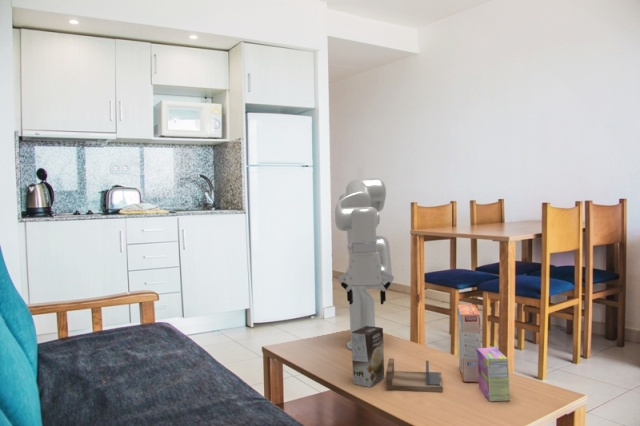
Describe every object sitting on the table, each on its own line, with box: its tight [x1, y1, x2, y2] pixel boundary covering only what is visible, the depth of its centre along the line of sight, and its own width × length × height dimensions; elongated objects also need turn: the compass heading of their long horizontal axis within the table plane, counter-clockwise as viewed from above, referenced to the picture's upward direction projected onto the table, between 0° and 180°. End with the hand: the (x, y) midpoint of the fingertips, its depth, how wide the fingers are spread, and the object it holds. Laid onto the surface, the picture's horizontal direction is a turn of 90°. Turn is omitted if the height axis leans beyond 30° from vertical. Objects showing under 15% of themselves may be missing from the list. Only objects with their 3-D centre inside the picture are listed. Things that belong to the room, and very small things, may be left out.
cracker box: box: [457, 304, 482, 383], centre depth 158 cm, size 14×6×21 cm, turn 168°
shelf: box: [385, 358, 444, 393], centre depth 153 cm, size 12×16×6 cm
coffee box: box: [351, 326, 385, 388], centre depth 157 cm, size 9×6×16 cm
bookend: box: [425, 360, 440, 386], centre depth 152 cm, size 10×4×4 cm, turn 168°
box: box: [477, 347, 510, 402], centre depth 142 cm, size 10×6×12 cm, turn 178°
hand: (366, 303), depth 156 cm, fingers open, 9 cm apart
